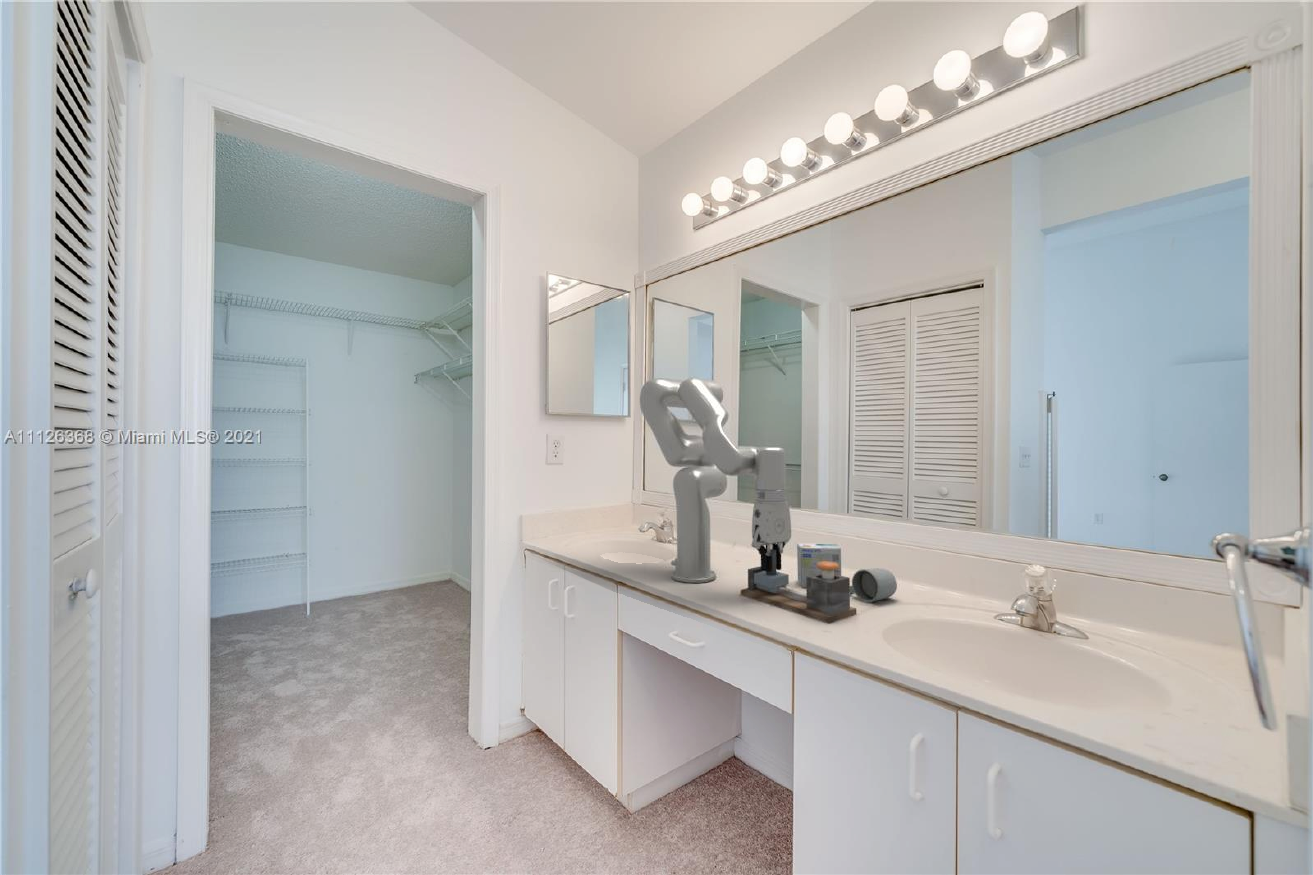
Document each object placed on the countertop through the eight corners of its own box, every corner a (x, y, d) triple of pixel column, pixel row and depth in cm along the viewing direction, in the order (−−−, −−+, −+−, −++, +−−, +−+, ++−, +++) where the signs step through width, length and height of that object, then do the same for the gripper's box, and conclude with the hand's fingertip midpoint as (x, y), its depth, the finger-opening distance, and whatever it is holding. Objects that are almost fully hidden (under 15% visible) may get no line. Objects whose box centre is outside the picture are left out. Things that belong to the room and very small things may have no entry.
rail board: (741, 594, 128) (740, 561, 128) (767, 587, 134) (767, 556, 134) (829, 623, 108) (829, 584, 108) (856, 613, 114) (856, 577, 114)
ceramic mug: (899, 600, 123) (899, 568, 123) (878, 606, 119) (877, 573, 119) (861, 590, 132) (861, 560, 132) (841, 595, 128) (840, 564, 128)
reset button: (813, 585, 114) (813, 563, 114) (825, 582, 117) (825, 560, 117) (830, 590, 111) (830, 567, 111) (842, 586, 113) (842, 564, 113)
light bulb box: (836, 582, 140) (835, 542, 140) (842, 589, 133) (842, 547, 133) (796, 581, 141) (796, 542, 141) (800, 588, 134) (800, 547, 134)
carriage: (753, 587, 128) (753, 549, 128) (770, 583, 131) (769, 546, 131) (772, 593, 123) (772, 553, 123) (788, 589, 126) (788, 550, 126)
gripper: (759, 500, 119) (760, 578, 119) (803, 495, 129) (804, 568, 129) (736, 497, 125) (737, 572, 125) (780, 493, 135) (780, 562, 135)
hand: (771, 569), depth 127 cm, fingers closed on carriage, 2 cm apart
